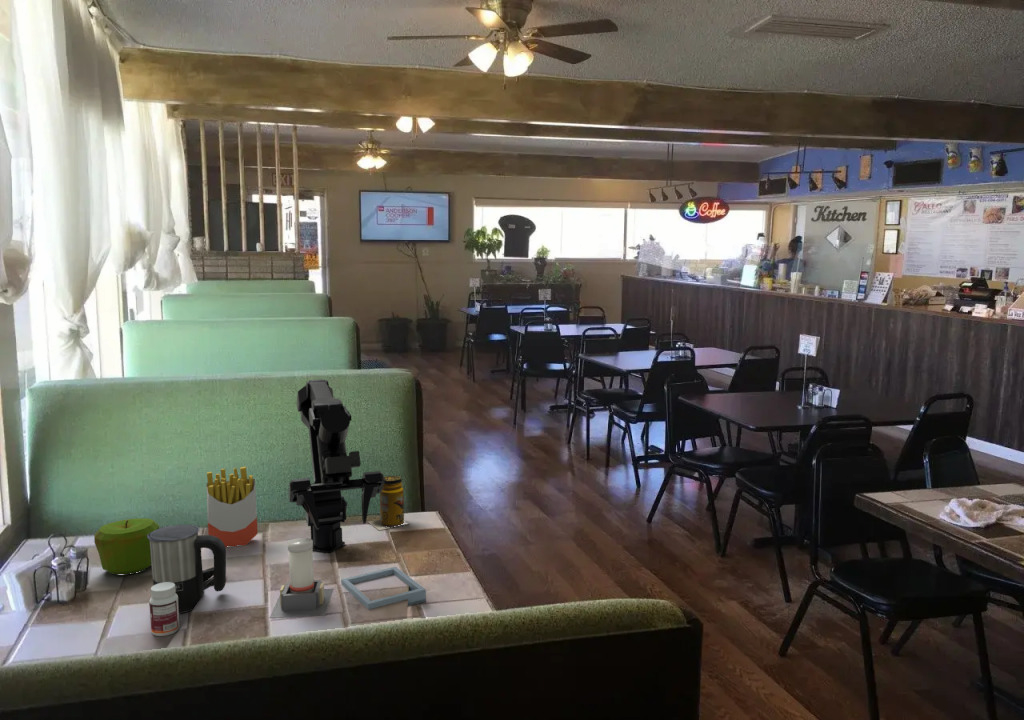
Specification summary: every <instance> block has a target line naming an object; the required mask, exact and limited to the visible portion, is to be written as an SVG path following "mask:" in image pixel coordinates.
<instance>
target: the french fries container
mask: <svg viewBox="0 0 1024 720" xmlns="http://www.w3.org/2000/svg"><path fill="white" fill-rule="evenodd" d="M239 471H240V478H239V474H238V468H237V467H235V468H234V467H233V473H230V474H228V477H229V478H228V480H227V474H226V473H227V472H226V468H221V469H220V473H216V474H215V478H214V479H213V472H212V471H208V472H206V478H207V483H206V485H205V486H206V487H205V488H206V509H207V529H208V530H207V531H208V533H207V535H212V536H215V537H217V538H219V539H220V540H221V541H222V542H223V543H224V545H225V548H228V547H227V546H234V547H238V546H237V545H242V546H247V545H248V544H249V543H250V542H251V541H252V540H253V539H254V538H255V537H256V536H257V535H258V514H257V512H258V511H257V492H256V478H254V475H253V474H252V475H248V474H247V466H241V467H240V468H239Z"/></svg>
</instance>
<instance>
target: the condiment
mask: <svg viewBox="0 0 1024 720" xmlns="http://www.w3.org/2000/svg"><path fill="white" fill-rule="evenodd" d="M402 480H403V479H402V477H401V476H398V475H386V476H384V485H383V488H382V491H381V492H380V493H379V513H380V515H379V518H380V519H377V520H370V521H368V523H369V524H370V525H371V526H372V527H373V528H376V529H377V530H379V531H383V530H387V529H388V530H389V528H388V527H391V528H390V529H392V528H393V527H394V526H398V525H401V524H403V523H404V521H405V507H404V505H405V504H404V503H405V501H404V495H405V494H404V488H403V484H402V483H403V481H402ZM384 526H387V528H384ZM382 527H383V528H382ZM394 528H395V527H394Z"/></svg>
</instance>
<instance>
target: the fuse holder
mask: <svg viewBox="0 0 1024 720" xmlns="http://www.w3.org/2000/svg"><path fill="white" fill-rule="evenodd" d="M333 591H334V588H325V583H324V582H323V581H321V579H314V593H294V594H290V580H289V581H288V582H286V583H285V584H282V585H281V586H280V589H279V597H278V598H277V601H276V603H275V605H274V607H273V609H272V611H271V613H270V616H269V619H280V618H282V619H284V618H300V617H318V616H326V614H327V611H328V606H329V603H330V601H331V597H332V594H333Z"/></svg>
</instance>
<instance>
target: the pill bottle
mask: <svg viewBox="0 0 1024 720" xmlns="http://www.w3.org/2000/svg"><path fill="white" fill-rule="evenodd" d="M175 592H176V589H175V584H174V583H172V582H163V583H158V584H156V585H154V586H153V585H152V586H151V588H150V596H151V597H150V599H149V601H148V602H149V605H148V606H149V616H150V629H151V634H152V635H153V636H157V637H167V636H170V635H172V634H175V633H176V632H178V631H179V629H180V627H181V624H180V623H181V621H180V613H179V604H178V595H177V594H176V593H175Z"/></svg>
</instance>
